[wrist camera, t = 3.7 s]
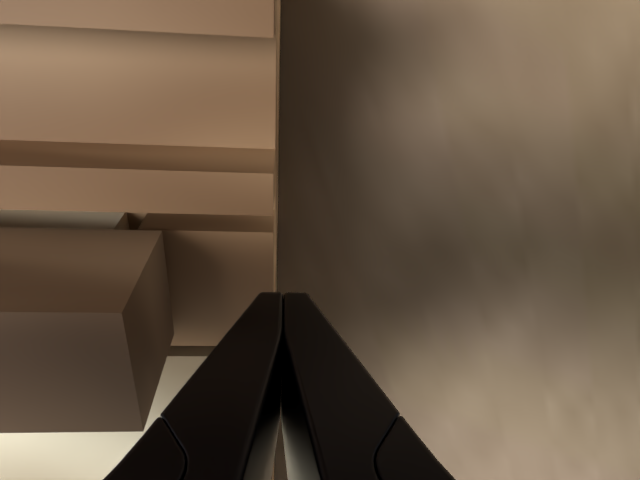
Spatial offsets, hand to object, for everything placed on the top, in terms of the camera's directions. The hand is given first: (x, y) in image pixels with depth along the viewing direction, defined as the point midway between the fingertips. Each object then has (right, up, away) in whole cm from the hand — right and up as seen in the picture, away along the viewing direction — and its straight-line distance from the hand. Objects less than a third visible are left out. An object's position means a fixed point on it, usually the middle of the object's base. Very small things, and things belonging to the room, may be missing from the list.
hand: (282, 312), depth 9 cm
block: (-5, 0, 0) cm, 5 cm away
